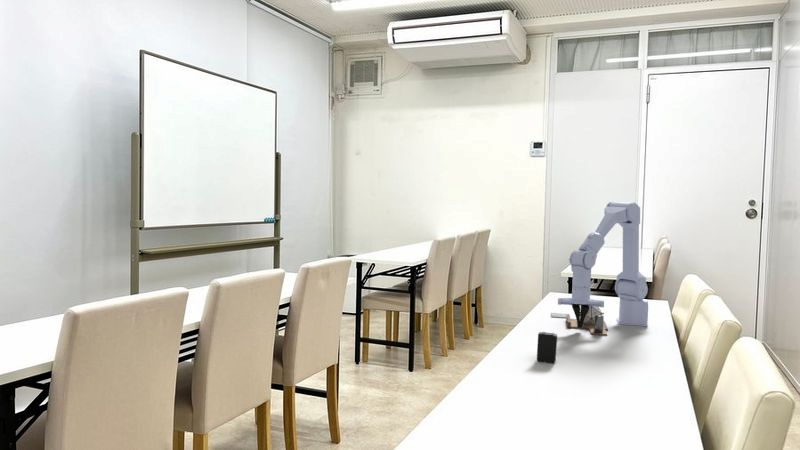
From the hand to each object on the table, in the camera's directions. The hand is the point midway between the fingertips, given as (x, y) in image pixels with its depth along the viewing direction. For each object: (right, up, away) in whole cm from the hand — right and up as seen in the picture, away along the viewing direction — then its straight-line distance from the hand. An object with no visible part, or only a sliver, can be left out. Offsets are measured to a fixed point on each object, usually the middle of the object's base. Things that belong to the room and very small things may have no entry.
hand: (579, 327), depth 199 cm
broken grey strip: (+5, 0, +23) cm, 23 cm away
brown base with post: (+5, -1, +7) cm, 8 cm away
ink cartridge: (-19, -4, -32) cm, 38 cm away
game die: (+7, -1, +10) cm, 12 cm away
